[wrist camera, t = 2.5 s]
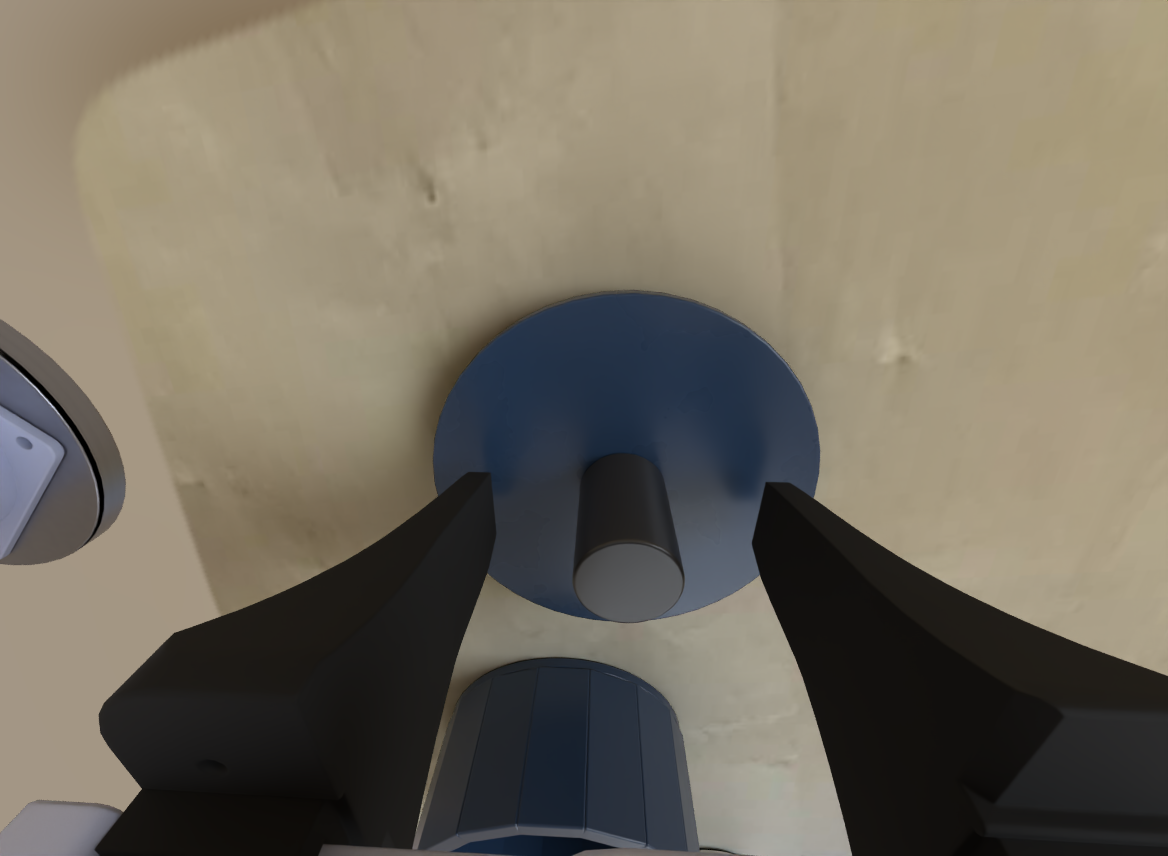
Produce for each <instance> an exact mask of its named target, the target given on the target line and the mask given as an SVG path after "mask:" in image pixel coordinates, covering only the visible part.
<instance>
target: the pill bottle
mask: <svg viewBox="0 0 1168 856" xmlns="http://www.w3.org/2000/svg"><path fill="white" fill-rule="evenodd" d="M700 852H703V853H720V854H731V853H727V852H722V851H714V850H700Z"/></svg>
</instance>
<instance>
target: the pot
mask: <svg viewBox="0 0 1168 856" xmlns="http://www.w3.org/2000/svg"><path fill="white" fill-rule="evenodd" d="M614 848H636V849H652V850H669V851H686V852H700V849H699V842H698V836H697V829H696V822H695V815H694V808H693V802H692V795H691V788H690V781H689V775H688V768H687V761H686V754H685V747H684V741H683V735H682V733H681V731H680V729H679V722H678V719H677V716H676V714H675V712H674V710H673V708H672V707H671V705H670V704H669V702H668V701H667V700H666V699H665V698H664V696H663V695H662V694H661V693H660V692H658V691H657V690H656V689H655V688H654V687H652V686H651V685H650V684H648V683H646V682H645V681H643V680H642V679H640V678H638V677H636V676H634V675H632V674H630V673H628V672H626V671H623V670H620V669H618V668H615V667H612V666H609V665H605V664H601V663H597V662H592V661H586V660H580V659H568V658H545V659H534V660H528V661H522V662H517V663H514V664H510V665H507V666H503V667H501V668H498V669H496V670H494V671H491V672H489V673H487V674H486V675H484V676H482V677H480V678H479V679H478V680H476V681H475V682H474V683H472V684H471V685H470V686H469V687H468V688H467V689H466V690H465V691H464V692H463V694H462V695H461V697H460V698H459V700H458V702H457V704H456V707H455V709H454V712H453V716H452V718H451V720H450V722H449V724H448V727H447V730H446V734H445V737H444V740H443V744H442V747H441V750H440V754H439V757H438V760H437V764H436V767H435V770H434V774H433V777H432V781H431V784H430V787H429V791H428V794H427V797H426V801H425V804H424V807H423V811H422V814H421V817H420V821H419V824H418V828H417V831H416V834H415V838H414V843H413V848H412V849H413V850H430V851H446V852H463V853H479V854H496V855H512V856H573V855H575V854H578V853H580V852H583V851H585V850H600V849H614Z"/></svg>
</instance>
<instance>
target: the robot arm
mask: <svg viewBox="0 0 1168 856" xmlns="http://www.w3.org/2000/svg"><path fill="white" fill-rule="evenodd" d="M63 457H64V448H63V446H62V445H61V444H60V443H59V442H58V441H57V440H55V439H54V438H52V437H51V436H49V435H47V434H46V433H44V432H43V431H41V430H39V429H38V428H36V427H34V426H33V425H31V424H30V423H28V422H26V421H25V420H23V419H22V418H20V417H18V416H17V415H15V414H13V413H12V412H10V411H9V410H7V409H5V408H4V407H2V406H0V560H1V559H2V558H4V557H6V556H7V555H9V554H10V552H11V551H12V549H13V547H14V545H15V543H16V541H17V540H18V538H19V536H20V534H21V532H22V531H23V529H24V527H25V525H26V523H27V522H28V520H29V518H30V516H31V514H32V513H33V511H34V509H35V507H36V505H37V504H38V502H39V500H40V498H41V496H42V494H43V493H44V491H45V489H46V487H47V485H48V484H49V482H50V480H51V478H52V476H53V475H54V473H55V471H56V469H57V467H58V466H59V464H60V462H61V460H62V458H63ZM496 534H497V533H496V523H495V512H494V501H493V491H492V480H491V472H467V473H466V474H465V475H463V476H462V477H461V478H460V479H458V480H457V481H456V482H455V483H454V484H452V485H451V486H450V487H449V488H448V489H446V490H445V491H444V492H443V493H442V494H440V495H439V496H438V497H437V498H435V499H434V500H433V501H432V502H430V503H429V504H428V505H427V506H426V507H424V508H423V509H422V510H421V511H419V512H418V513H417V514H415V515H414V516H412V517H411V518H410V519H408V520H407V521H406V522H404V523H403V524H402V525H400V526H399V527H397V528H396V529H395V530H393V531H392V532H391V533H389V534H388V535H386V536H385V537H383V538H382V539H380V540H379V541H377V542H376V543H374V544H372V545H371V546H369V547H368V548H366V549H364V550H363V551H361V552H359V553H358V554H356V555H354V556H353V557H351V558H349V559H347V560H346V561H344V562H342V563H340V564H338V565H336V566H334V567H332V568H330V569H328V570H326V571H324V572H323V573H321V574H319V575H317V576H315V577H313V578H311V579H309V580H307V581H305V582H303V583H301V584H299V585H297V586H294V587H292V588H290V589H288V590H286V591H283V592H281V593H279V594H277V595H274V596H272V597H269V598H267V599H265V600H262V601H260V602H258V603H255V604H253V605H250V606H248V607H245V608H243V609H240V610H238V611H235V612H232V613H229V614H227V615H224V616H221V617H218V618H216V619H213V620H210V621H207V622H204V623H202V624H199V625H196V626H193V627H191V628H188V629H185V630H182V631H179V632H176V633H174V634H173V635H172V636H171V637H170V638H169V639H168V640H166V642H164V643H163V645H161V646H160V647H159V649H158V650H157V651H156V652H155V653H154V654H153V655H152V656H151V657H150V658H149V659H148V660H147V661H146V662H145V663H144V664H143V665H142V666H141V667H140V668H139V669H138V670H137V671H136V672H135V673H134V674H133V675H132V676H131V677H130V678H129V679H128V680H127V681H126V682H125V683H124V684H123V685H122V686H121V687H120V688H119V689H118V690H117V691H116V692H115V693H114V694H113V695H112V696H111V697H110V698H109V699H108V700H107V701H106V702H105V703H104V704H103V706H102V709H101V711H100V713H99V724H100V733H101V735H102V736H103V738H104V740H105V742H106V743H107V745H108V746H109V748H110V749H111V750H112V751H113V753H114V754H115V755H116V757H117V758H118V759H119V760H120V761H121V763H122V764H123V765H124V767H125V768H126V769H127V770H128V772H129V773H130V774H131V775H132V777H133V778H134V779H135V780H136V782H137V783H138V784H139V785H140V787H141V788H142V790H141V791H140V792H139V794H138V795H137V796H136V797H135V799H134V800H133V801H132V802H131V804H130V805H129V806H128V807H127V809H126V810H125V811H124V812H122V811H121V810H119V809H117V808H114V807H111V806H109V805H104V804H98V803H83V802H66V801H49V800H36V801H34V802H31V803H28V804H27V805H26V806H25V808H24V809H23V810H22V811H21V812H20V813H19V814H18V815H17V816H16V817H15V818H14V819H13V820H12V821H11V822H10V823H9V824H8V825H7V826H6V827H5V828H4V829H3V831H2V832H1V833H0V856H512V855H496V854H479V853H463V852H446V851H430V850H413V849H412V848H413V843H414V838H415V833H416V828H417V823H418V819H419V814H420V809H421V804H422V799H423V794H424V790H425V786H426V781H427V777H428V772H429V768H430V763H431V759H432V754H433V750H434V745H435V741H436V737H437V733H438V729H439V725H440V720H441V716H442V712H443V708H444V704H445V700H446V696H447V692H448V688H449V684H450V680H451V677H452V673H453V669H454V665H455V661H456V658H457V655H458V652H459V649H460V646H461V643H462V640H463V637H464V634H465V632H466V629H467V626H468V624H469V621H470V618H471V615H472V613H473V610H474V607H475V605H476V602H477V599H478V597H479V594H480V591H481V588H482V586H483V583H484V580H485V577H486V574H487V572H488V569H489V565H490V561H491V557H492V553H493V548H494V543H495V539H496ZM752 547H753V551H754V555H755V559H756V563H757V566H758V570H759V573H760V577H761V579H762V582H763V584H764V587H765V589H766V592H767V594H768V596H769V599H770V601H771V603H772V606H773V608H774V610H775V613H776V615H777V617H778V620H779V622H780V624H781V626H782V629H783V631H784V633H785V636H786V638H787V640H788V643H789V645H790V647H791V650H792V652H793V654H794V656H795V659H796V661H797V664H798V667H799V669H800V672H801V674H802V677H803V680H804V683H805V686H806V689H807V693H808V696H809V699H810V702H811V705H812V708H813V711H814V715H815V718H816V721H817V725H818V728H819V731H820V735H821V738H822V742H823V745H824V748H825V752H826V755H827V759H828V762H829V766H830V769H831V773H832V777H833V781H834V784H835V788H836V792H837V796H838V800H839V803H840V807H841V811H842V815H843V819H844V822H845V826H846V831H847V835H848V839H849V843H850V848H851V852H852V856H1168V676H1166V675H1163V674H1160V673H1158V672H1155V671H1152V670H1149V669H1147V668H1144V667H1141V666H1138V665H1135V664H1133V663H1130V662H1127V661H1124V660H1122V659H1119V658H1116V657H1113V656H1111V655H1108V654H1105V653H1102V652H1099V651H1097V650H1094V649H1091V648H1089V647H1086V646H1083V645H1081V644H1078V643H1076V642H1073V641H1071V640H1068V639H1066V638H1064V637H1061V636H1059V635H1056V634H1054V633H1051V632H1049V631H1047V630H1044V629H1042V628H1039V627H1037V626H1034V625H1032V624H1030V623H1028V622H1025V621H1023V620H1021V619H1018V618H1016V617H1014V616H1012V615H1009V614H1007V613H1005V612H1003V611H1001V610H999V609H997V608H994V607H992V606H990V605H988V604H986V603H984V602H982V601H980V600H978V599H976V598H974V597H971V596H969V595H967V594H965V593H963V592H961V591H959V590H958V589H956V588H954V587H952V586H950V585H948V584H946V583H944V582H942V581H941V580H939V579H937V578H935V577H933V576H931V575H930V574H928V573H926V572H924V571H922V570H921V569H919V568H917V567H915V566H914V565H912V564H910V563H908V562H907V561H905V560H903V559H902V558H900V557H898V556H897V555H895V554H894V553H892V552H891V551H889V550H887V549H886V548H884V547H883V546H881V545H880V544H878V543H876V542H875V541H873V540H872V539H870V538H869V537H867V536H866V535H864V534H863V533H861V532H860V531H859V530H857V529H856V528H854V527H853V526H851V525H850V524H848V523H847V522H846V521H844V520H843V519H841V518H840V517H839V516H837V515H836V514H834V513H833V512H832V511H830V510H829V509H827V508H826V507H825V506H823V505H822V504H820V503H819V502H818V501H816V500H815V499H814V498H812V497H811V496H809V495H808V494H806V493H805V492H804V491H802V490H801V489H799V488H798V487H796V486H794V485H793V484H791V483H789V482H766V483H765V487H764V491H763V496H762V500H761V504H760V509H759V513H758V517H757V522H756V526H755V530H754V535H753V539H752ZM573 856H753V855H737V854H720V853H703V852H686V851H669V850H652V849H636V848H614V849H600V850H585V851H583V852H580V853H578V854H575V855H573Z"/></svg>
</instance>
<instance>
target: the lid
mask: <svg viewBox="0 0 1168 856" xmlns="http://www.w3.org/2000/svg"><path fill="white" fill-rule="evenodd" d="M819 464H820V445H819V435H818V427H817V424H816V420H815V417H814V413H813V410H812V406H811V404H810V401H809V399H808V397H807V395H806V393H805V391H804V389H803V387H802V384H801V383H800V381H799V380H798V378H797V377H796V375H795V374H794V372H793V371H792V370H791V368H790V367H789V365H788V364H787V362H786V361H785V360H784V359H783V358H782V357H781V356H780V355H779V354H778V353H777V352H776V351H775V350H774V349H773V348H772V347H771V346H770V344H769V343H767V342H766V341H765V340H764V339H763V338H761V337H760V336H759V335H758V334H756V333H755V332H754V331H752V330H751V329H750V328H748V327H747V326H746V325H745V324H743V323H742V322H740V321H738V320H736V319H735V318H733V317H731V316H729V315H727V314H726V313H724V312H722V311H720V310H718V309H716V308H713V307H711V306H708V305H705V304H703V303H700V302H698V301H695V300H692V299H689V298H684V297H680V296H676V295H671V294H667V293H662V292H651V291H639V290H622V291H603V292H597V293H592V294H586V295H581V296H575V297H572V298H569V299H566V300H563V301H560V302H557V303H554V304H551V305H548V306H545V307H543V308H541V309H539V310H537V311H535V312H533V313H531V314H529V315H527V316H525V317H523V318H521V319H520V320H518V321H517V322H515V323H514V324H512V325H511V326H509V327H508V328H506V329H505V330H503V331H502V332H500V333H499V334H498V335H497V336H496V337H495V338H494V339H492V340H491V341H490V342H489V343H488V344H487V345H486V346H485V347H484V348H483V349H481V350H480V352H479V353H478V354H477V355H476V356H475V358H474V359H473V360H472V361H471V362H470V364H469V365H468V366H467V367H466V369H465V370H464V371H463V372H462V373H461V375H460V376H459V378H458V380H457V381H456V383H455V385H454V386H453V388H452V390H451V391H450V393H449V395H448V397H447V399H446V402H445V404H444V407H443V409H442V412H441V414H440V417H439V421H438V426H437V430H436V434H435V439H434V452H433V467H434V479H435V485H436V489H437V494H438V496H439V495H440V494H442V493H443V492H444V491H445V490H446V489H448V488H449V487H450V486H451V485H452V484H454V483H455V482H456V481H457V480H458V479H460V478H461V477H462V476H463V475H465V474H466V473H467V472H491V480H492V491H493V501H494V512H495V523H496V533H497V534H496V539H495V543H494V548H493V553H492V557H491V561H490V565H489V569H488V572H487V573H488V574H489V575H490V576H491V577H493V578H494V579H495V580H496V581H498V582H499V583H500V584H502V585H503V586H505V587H506V588H508V589H510V590H511V591H513V592H514V593H516V594H518V595H520V596H521V597H523V598H525V599H527V600H529V601H531V602H533V603H536V604H538V605H541V606H543V607H546V608H548V609H551V610H554V611H557V612H561V613H564V614H568V615H571V616H576V617H581V618H587V619H592V620H602V621H614V622H619V623H638V622H644V621H648V620H655V619H661V618H666V617H671V616H677V615H680V614H684V613H687V612H691V611H694V610H697V609H700V608H702V607H705V606H707V605H710V604H712V603H715V602H717V601H719V600H721V599H723V598H725V597H727V596H729V595H731V594H733V593H734V592H736V591H738V590H739V589H741V588H742V587H744V586H745V585H747V584H748V583H750V582H751V581H753V580H754V579H755V578H756V577H758V576H759V575H760V573H759V570H758V566H757V563H756V559H755V555H754V551H753V547H752V539H753V535H754V530H755V526H756V522H757V517H758V513H759V509H760V504H761V500H762V496H763V491H764V487H765V483H766V482H789V483H791V484H793V485H794V486H796V487H798V488H799V489H801V490H802V491H804V492H805V493H806V494H808V495H809V496H811V497H812V498H814V495H815V490H816V485H817V481H818V476H819Z"/></svg>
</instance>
